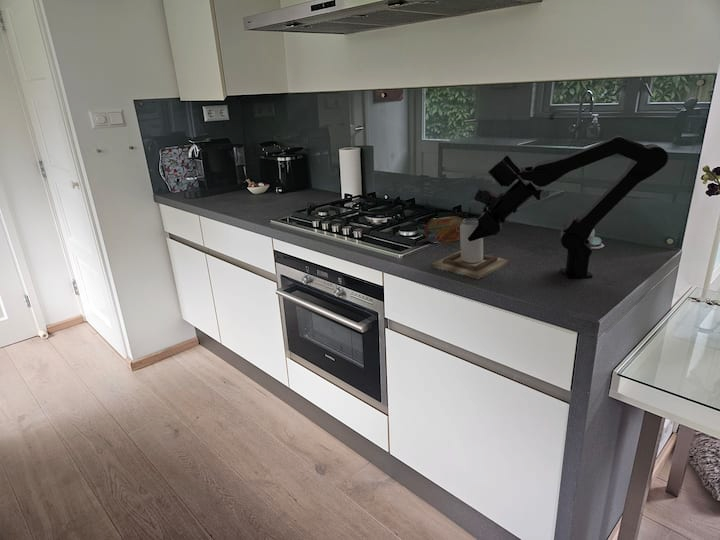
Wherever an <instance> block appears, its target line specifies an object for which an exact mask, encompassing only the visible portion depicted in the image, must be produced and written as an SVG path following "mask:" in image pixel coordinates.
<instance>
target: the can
mask: <svg viewBox="0 0 720 540" xmlns="http://www.w3.org/2000/svg"><path fill="white" fill-rule="evenodd" d="M463 219H464V220H462V221H461V225H460V240H459V243H460V244H459V246H460V251H461V260H462V261H463V262H465V263H478V262H481V261H482V260H483V254H484V237H483V238H480V239H477V240H473V241H469V240H468V237H469V236H470V235H471V234H472V232H473V231H474V230H475V229H476V227H477V226H478V219H479V218H476V217H469V218H463Z"/></svg>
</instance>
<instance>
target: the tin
mask: <svg viewBox="0 0 720 540" xmlns="http://www.w3.org/2000/svg"><path fill="white" fill-rule="evenodd" d="M464 219H465V218H463V217H460V216H455V215H453V216H445V217H439V218H438V217H437V218H433V219H430V220H429V221H428V222H427V223H426V224H425V226H424V236H425V238H426V239H427V241H429V242H430V243H432V242H441V243H440V244H443V243H451V242H458V241H460V225H461V221H462V220H464Z"/></svg>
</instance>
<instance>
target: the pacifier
mask: <svg viewBox="0 0 720 540" xmlns="http://www.w3.org/2000/svg"><path fill="white" fill-rule="evenodd" d="M595 235H596V231H595V228H594V229H593V231H592V232H591V234H590V236H589V238H588V240H589V241H590V244H591V249H592V250H599V249H603V248H604V247H605V245H604V244H603V243H602V239H601V238H600V237H599V236H595Z"/></svg>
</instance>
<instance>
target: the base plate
mask: <svg viewBox="0 0 720 540" xmlns="http://www.w3.org/2000/svg"><path fill="white" fill-rule="evenodd" d="M507 265H509V260H508V259H506V258H501V257H497V256H492V255H490V254H489V255H488V254H484V253H483V260H482V261H481V262H478V263H465V262H463V261H462V260H461V250H458V251H456V252H455V253H452V254H450V255H448V256H445V257H443V258H441V259H438V260H437V261H434V262H432V263H431V268H434V269H436V268H437V269H436V270H440V269H441V271H444V270H446V271H445V272H448V271H450V272H449V273H451V272H454V273H453V274H455V273H458V274H457V275H459V274H462V275H461V276H463V275H466V276H469V277H468V278H470V277H473V278H472V279H474V278H476V279H475V280H478V279H480V278H482V277H483V278H485V277H487V276H489V275H491V274H493V273H495V272H496V271H498V270H500V269H502V268H504V267H505V266H507ZM494 271H495V272H494ZM492 272H493V273H492ZM490 273H491V274H490ZM488 274H489V275H488ZM486 275H487V276H486ZM466 276H465V277H466ZM484 276H485V277H484ZM483 278H482V279H483ZM480 280H481V279H480Z"/></svg>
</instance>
